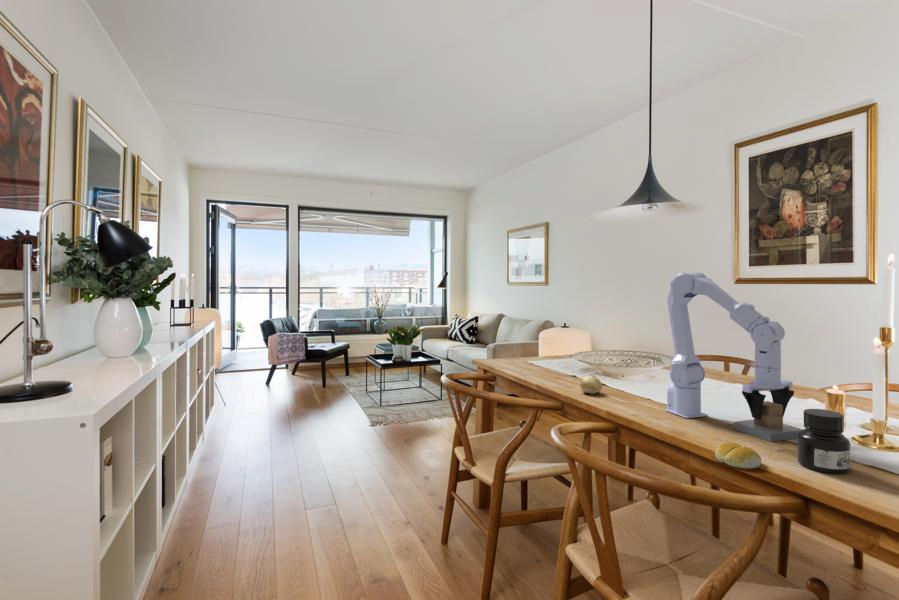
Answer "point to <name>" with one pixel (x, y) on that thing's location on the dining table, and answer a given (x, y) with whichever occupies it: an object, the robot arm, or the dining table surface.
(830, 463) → the ink bottle
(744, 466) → the bread roll
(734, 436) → the dining table surface
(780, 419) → the walnut block
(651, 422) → the dining table surface
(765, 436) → the slate base
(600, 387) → the onion
